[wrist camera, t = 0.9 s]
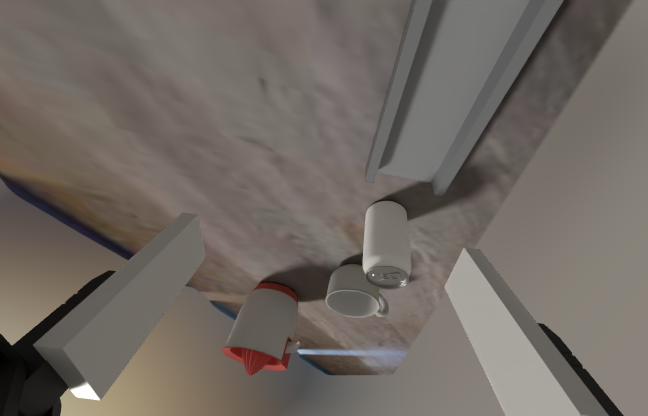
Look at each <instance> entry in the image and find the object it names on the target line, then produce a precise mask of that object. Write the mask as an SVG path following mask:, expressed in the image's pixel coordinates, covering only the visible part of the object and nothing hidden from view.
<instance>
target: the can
mask: <svg viewBox="0 0 648 416" xmlns="http://www.w3.org/2000/svg"><path fill="white" fill-rule="evenodd" d="M363 270H364V272H365V279H366V281H367V282H368V283H369V284H371V285H372V286H374V287H377V288H381V289H398V288H402V287H404V286H405V285H407V284H408V282H409V275H410V273H411V270H412V266H411V253H410V242H409V232H408V222H407V213H406V210H405V209H404V207H403V206H401V205H400V204H398V203H396V202H393V201H380V202H377V203H375V204H373V205H371V206H370V207H369V208H368V210H367V213H366V221H365V234H364V249H363Z"/></svg>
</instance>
